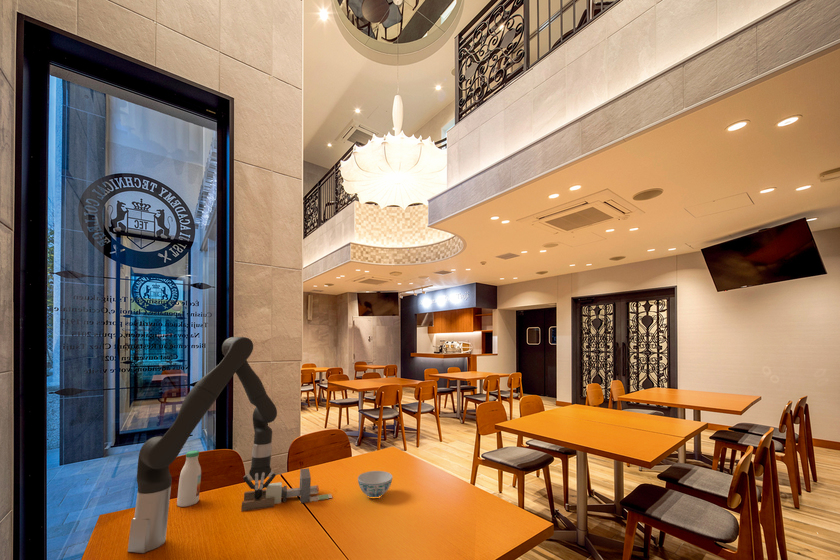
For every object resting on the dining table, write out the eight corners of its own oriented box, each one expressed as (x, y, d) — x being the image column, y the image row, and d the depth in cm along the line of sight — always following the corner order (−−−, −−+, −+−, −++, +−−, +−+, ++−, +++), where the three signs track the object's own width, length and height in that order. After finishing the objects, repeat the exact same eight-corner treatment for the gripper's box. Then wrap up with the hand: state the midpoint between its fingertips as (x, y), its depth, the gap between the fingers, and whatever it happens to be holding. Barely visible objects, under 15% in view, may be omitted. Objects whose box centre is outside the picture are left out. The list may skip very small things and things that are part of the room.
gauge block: (265, 505, 150) (266, 489, 151) (265, 499, 155) (266, 484, 156) (283, 502, 152) (284, 486, 153) (283, 496, 158) (283, 481, 159)
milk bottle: (191, 507, 148) (196, 454, 151) (172, 507, 148) (177, 454, 151) (202, 499, 155) (207, 449, 158) (184, 499, 155) (189, 448, 159)
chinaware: (386, 505, 150) (386, 484, 151) (351, 501, 153) (352, 481, 154) (396, 490, 164) (396, 472, 166) (364, 487, 167) (364, 469, 169)
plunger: (283, 504, 150) (283, 493, 151) (283, 496, 158) (283, 485, 158) (319, 498, 155) (319, 488, 156) (317, 491, 163) (317, 481, 163)
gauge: (241, 512, 144) (243, 486, 145) (244, 499, 155) (245, 475, 157) (332, 498, 156) (333, 475, 157) (328, 487, 167) (329, 465, 169)
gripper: (243, 458, 149) (239, 504, 146) (278, 455, 154) (275, 500, 151) (245, 453, 156) (241, 497, 153) (278, 450, 161) (275, 493, 157)
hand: (258, 498), depth 152 cm, fingers closed
